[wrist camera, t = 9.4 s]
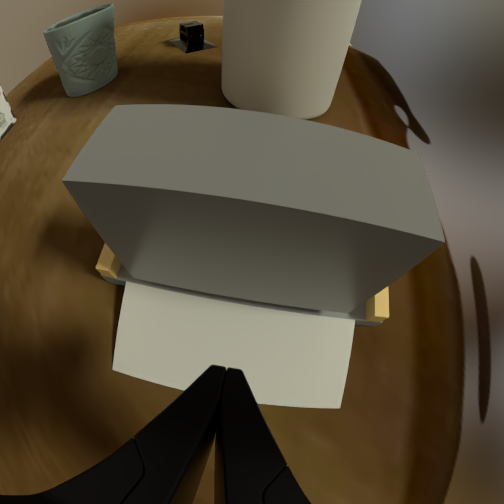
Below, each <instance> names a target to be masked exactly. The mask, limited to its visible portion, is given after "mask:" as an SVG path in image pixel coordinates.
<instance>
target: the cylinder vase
mask: <svg viewBox="0 0 504 504" xmlns="http://www.w3.org/2000/svg"><path fill="white" fill-rule="evenodd" d="M360 4H361V0H224V15H223V43H222V92H223V94H224V96H225V97H226V99H227V100H228V101H229V102H230V103H231V104H232V105H234V106H235V107H237V108H239V109H242V110H250V111H257V112H264V113H270V114H276V115H282V116H288V117H293V118H298V119H303V120H308V119H312V118H315V117H318V116H320V115H322V114H323V113H324V112H326V111H327V109H328V108H329V106H330V104H331V101H332V98H333V95H334V92H335V88H336V85H337V82H338V79H339V76H340V72H341V69H342V66H343V63H344V59H345V56H346V53H347V49H348V46H349V43H350V39H351V36H352V32H353V29H354V25H355V22H356V18H357V15H358V11H359V8H360Z"/></svg>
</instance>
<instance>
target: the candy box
mask: <svg viewBox="0 0 504 504" xmlns="http://www.w3.org/2000/svg"><path fill="white" fill-rule="evenodd" d="M15 122H16V118H15V116H14V114H13V112H12V110H11V108H10V106H9V104H8V101H7V99H6V97H5V95H4V93H3V90H2V88H1V86H0V139H1V138H2V137H3V136H4V134H5V133H6V132H7V131H8V130H9V129H10V128H11V126H12V125H13V124H14V123H15Z"/></svg>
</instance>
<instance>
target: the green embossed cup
mask: <svg viewBox="0 0 504 504" xmlns="http://www.w3.org/2000/svg"><path fill="white" fill-rule="evenodd" d="M44 36H45V39H46V42H47V45H48V48H49V50H50V52H51V55H52V57H53V60H54V62H55V65H56V69H57V70H58V72H59V76H60V78H61V81H62V84H63V87H64V89H65V92H66V94H67V95H68V96H70V97H78V96H82V95H85V94H88V93H91V92H93V91H95V90H98V89H99V88H101V87H103V86H105V85H106V84H108V83H109V82H111V81H112V80H113V79H114V78H115V77H116V76H117V74H118V66H117V56H116V53H115V51H116V50H115V39H114V5H113V4H106V5H101V6H97V7H94V8H91V9H88V10H85V11H82V12H80V13H77V14H75V15H73V16H70V17H68V18H66V19H64V20H62V21H60V22H58V23H56V24H54V25H53V26H51V27H49V28H48V29H46V30H45V31H44Z"/></svg>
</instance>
